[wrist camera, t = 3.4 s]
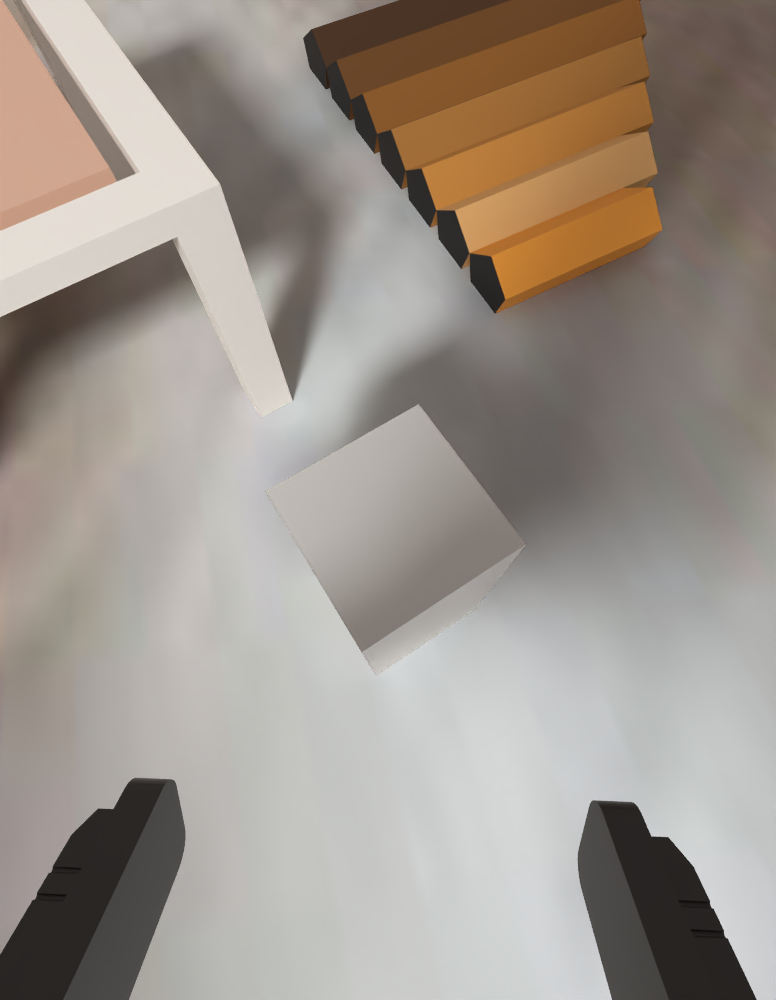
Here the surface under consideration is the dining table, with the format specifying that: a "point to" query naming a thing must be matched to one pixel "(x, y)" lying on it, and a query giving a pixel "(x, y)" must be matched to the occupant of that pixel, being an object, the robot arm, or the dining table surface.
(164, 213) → the white four-legged frame
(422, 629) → the grey upright block
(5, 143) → the trapdoor
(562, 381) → the dining table surface
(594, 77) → the pan flute
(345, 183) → the dining table surface
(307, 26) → the dining table surface
